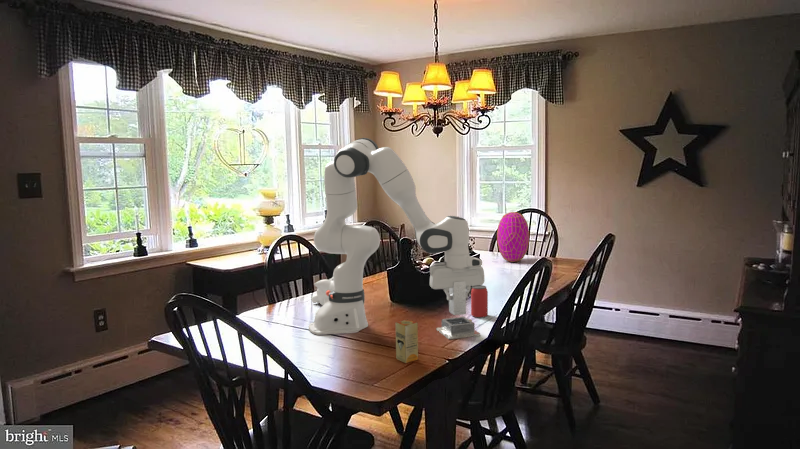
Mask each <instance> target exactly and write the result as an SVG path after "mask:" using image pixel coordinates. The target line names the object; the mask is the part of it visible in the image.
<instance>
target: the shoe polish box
mask: <svg viewBox="0 0 800 449" xmlns="http://www.w3.org/2000/svg"><path fill="white" fill-rule="evenodd" d="M418 328H419V327H418V322H416V321H414V320H411V319H403V320H399V321H396V322H395V356H396V358H395V359H396V360H398V361H400V362H402V363H405V364H408V363H411V362H414V361H418V360H419V336H418V335H419V334H418V333H419V332H418V330H419V329H418Z"/></svg>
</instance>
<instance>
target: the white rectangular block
mask: <svg viewBox="0 0 800 449" xmlns="http://www.w3.org/2000/svg"><path fill="white" fill-rule="evenodd" d="M448 292H449V294H451V295H452V300H448V312H449V313H450V314H451V315H453V316H458V315H459V316H461V315H467V298H466V281H458V282H453V288H449V291H448Z"/></svg>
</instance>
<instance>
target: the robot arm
mask: <svg viewBox="0 0 800 449" xmlns="http://www.w3.org/2000/svg"><path fill="white" fill-rule="evenodd" d="M368 173H370V174H371V175H373V176H374V177H375V179H376V180H377V182H378V183H379V185H380V187H381V188H382V190H383V191H384V193H385V194H386V195H387V196H388V198H390V200H392V202H394V203H395V204H397V205H398V206H399V207H400V208H401V209H402V211H403V212H404V214H405V215H406V216H407V217H406V218H408V220H409V222H410V224H411V225H412V227H413V229H414V237H415V242H416V243H417V244H418V246H419V247H420V248H421V249H422V250H423V251H424V252H425V253H428V254H433V255H434V254H438V253H443V252H444V262H433V263H432V264H431V265H430V266H429V274H430V276H429V286H430V287H431V289H433V290H443V292H444V293H445V295H446V300H447V301H449V300H452V295H451V294H449V288H453V282H458V281H466V299H468V298H469V293H470V291H471V290H472V286H476V285H483V286H484V284H485V270H484V268H483V260H482V259H480V258H478V257H474V256H472V255H470V250H469V244H470V228H469V223H468V221H467V220H466V219H465V218H464V217H461V216H456V215H447V216H446V217H445V218H443V219H442V220H440V221H439V222H436V223H435V222H433V221H432V220H431V219H430V218H429V217H428V215H427V214H426V212H425V211H424V209H423V208H422V205H421V204H420V202H419V200H418V198H417V193H416V184H415V182H414V179H413V176H412V175H411V172H410V171H409V169H408V167H407V166H406V164H405V163H404V162H403V160H402V158H401V157H400V156H399V155H398V154H397V152H395V151H394V150H393V148H391V147H390V146H382V147H379V146H378V144H377V142H376V141H374V140H372V139H371V138H367V137H362V138H357V139H356V140H352V141H351V142H349V143H347V144H346V145H345V146H344V147H342V148H340V149H339V150H338V151H337V153H336V154H335V156H334V159H333V160H331V161H330V162H328V163H327V164H326V165H325V167H324V175H323V176H324V180H323V181H324V191H325V192H324V193H325V199H326V200H325V201H326V215H325V219H324V221H323V222H322V224H321V225H320V226H319V227H318V228H317V229H316V230H315V232H314V234H313V243H314V246H315V248H316V250H317V251H319V252H322V253H326V254H330V255H331V254H335V255H346V259H345V261H344V262H342V263H340V264H338V265H337V266H336V267H335V268H334V269H333V273H332V277H333V280H332V281H333V282H334V290H333V291H329V290H327V292H326V295H327V296H329V301H328V302H327V303H326V304H324V305H321V307H319V308H318V309H317V310H316V312H315V314H314V320H313V321H314V322H311V323H309V324H308V331H309V332H311V334H314V335H317V336H319V335H320V336H321V335H337V334H339V335H340V334H354V333H359V331H361V330H363V329H365V328H367V327H368V326H369V323H368V320H367V317H366V309H365V300H366V299H365V290H364V288H363V287H364V285H363V284H364V283H363V281H364V279H363V278H364V270H365V269H364V268H365V265H366V263H367V261H368V259H369V258H370V257H371V256H372V255H373V254H374V253H375V252H377V250H379V247H380V245H381V235H380V234H379V231H378V230H377V229H376V228H375V227H374V226H369V225H364V224H347V223H346V219H348V218H349V217H352V215H354V214H355V213H356V212H357V209H358V200H357V199H358V198H357V191H356V184H355V177H360V176H361V177H362V176H365V175H367V174H368Z"/></svg>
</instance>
